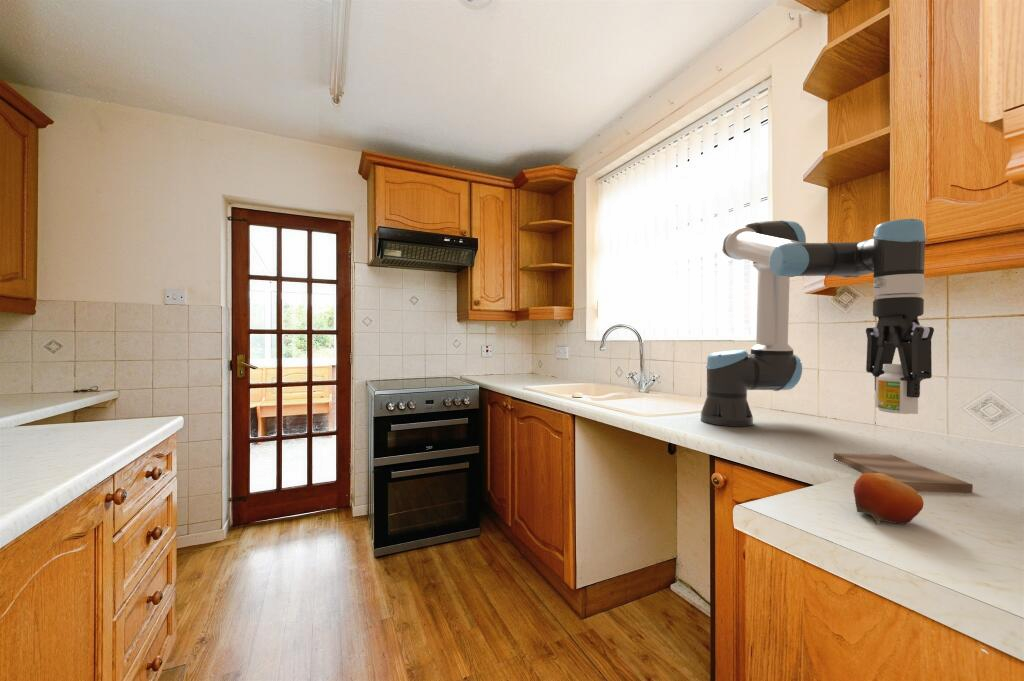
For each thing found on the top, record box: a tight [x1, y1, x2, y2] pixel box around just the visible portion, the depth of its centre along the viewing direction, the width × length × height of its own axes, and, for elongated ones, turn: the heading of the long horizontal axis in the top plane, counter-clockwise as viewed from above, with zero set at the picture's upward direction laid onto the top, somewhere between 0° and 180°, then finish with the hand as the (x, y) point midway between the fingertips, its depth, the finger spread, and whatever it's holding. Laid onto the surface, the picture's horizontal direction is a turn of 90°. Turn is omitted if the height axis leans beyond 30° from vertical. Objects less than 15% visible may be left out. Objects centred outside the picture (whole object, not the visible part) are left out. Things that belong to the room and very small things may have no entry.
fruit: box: [853, 473, 925, 526], centre depth 63 cm, size 8×8×8 cm
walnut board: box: [833, 452, 973, 493], centre depth 83 cm, size 18×12×2 cm, turn 174°
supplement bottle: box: [877, 363, 904, 415], centre depth 83 cm, size 5×5×10 cm
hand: (895, 410), depth 83 cm, fingers closed on supplement bottle, 5 cm apart
